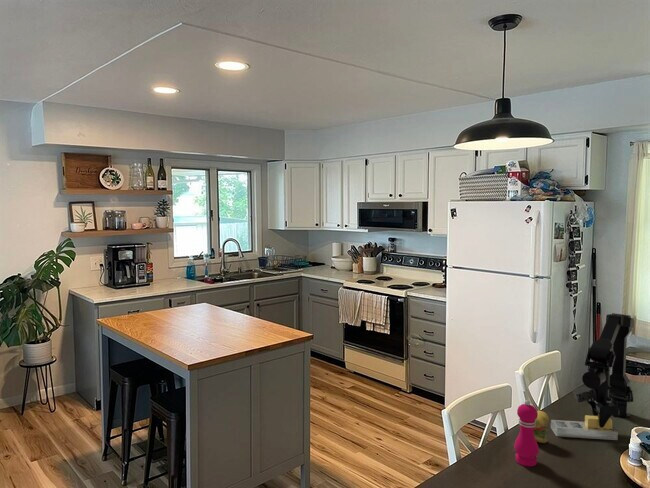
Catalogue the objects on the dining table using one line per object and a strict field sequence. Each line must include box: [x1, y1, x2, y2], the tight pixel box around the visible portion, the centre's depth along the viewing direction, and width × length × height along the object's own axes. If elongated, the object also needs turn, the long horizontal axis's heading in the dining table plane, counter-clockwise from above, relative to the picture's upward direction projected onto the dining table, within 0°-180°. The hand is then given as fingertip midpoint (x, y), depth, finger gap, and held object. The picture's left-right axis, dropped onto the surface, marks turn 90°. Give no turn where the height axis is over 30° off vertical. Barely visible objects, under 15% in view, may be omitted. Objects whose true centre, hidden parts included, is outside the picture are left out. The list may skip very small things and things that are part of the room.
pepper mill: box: [513, 399, 540, 467], centre depth 156 cm, size 7×7×20 cm
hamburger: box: [534, 410, 550, 444], centre depth 170 cm, size 8×7×12 cm
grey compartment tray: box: [550, 419, 619, 441], centre depth 176 cm, size 20×7×3 cm, turn 81°
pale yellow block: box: [584, 414, 613, 430], centre depth 175 cm, size 8×3×6 cm, turn 81°
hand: (598, 424), depth 175 cm, fingers open, 5 cm apart
